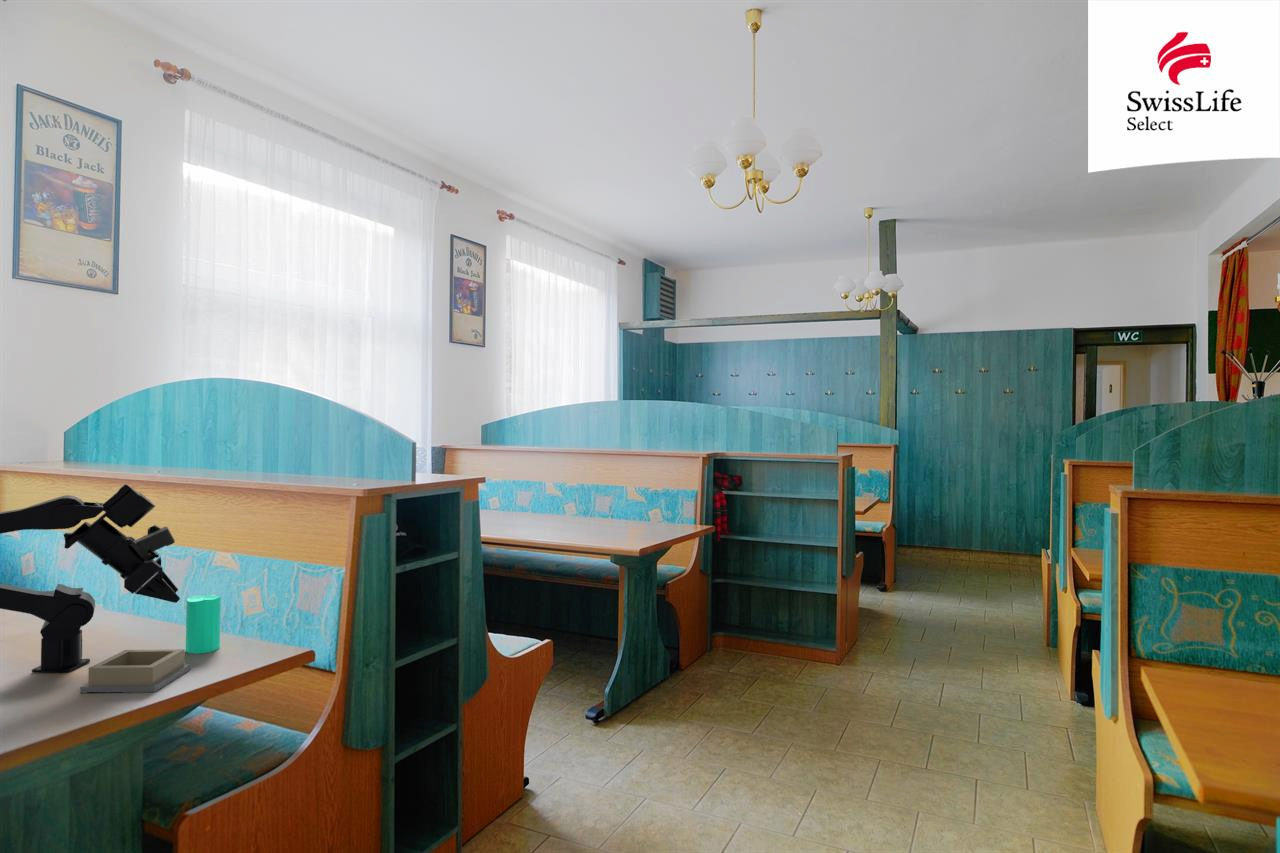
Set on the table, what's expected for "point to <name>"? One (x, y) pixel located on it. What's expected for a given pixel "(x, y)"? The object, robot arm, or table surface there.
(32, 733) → the table surface
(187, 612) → the candle
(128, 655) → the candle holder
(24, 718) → the table surface
